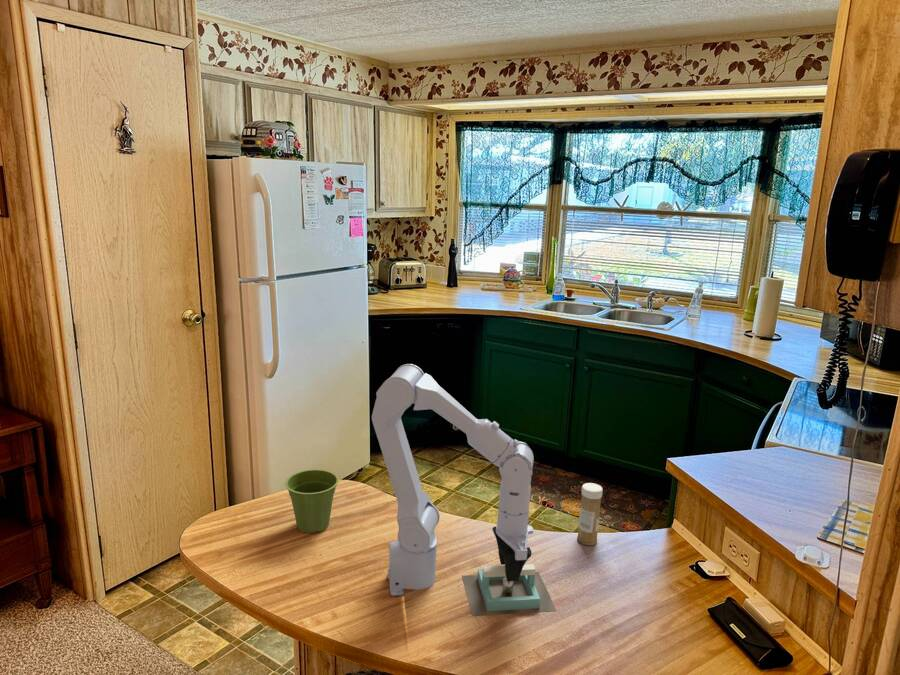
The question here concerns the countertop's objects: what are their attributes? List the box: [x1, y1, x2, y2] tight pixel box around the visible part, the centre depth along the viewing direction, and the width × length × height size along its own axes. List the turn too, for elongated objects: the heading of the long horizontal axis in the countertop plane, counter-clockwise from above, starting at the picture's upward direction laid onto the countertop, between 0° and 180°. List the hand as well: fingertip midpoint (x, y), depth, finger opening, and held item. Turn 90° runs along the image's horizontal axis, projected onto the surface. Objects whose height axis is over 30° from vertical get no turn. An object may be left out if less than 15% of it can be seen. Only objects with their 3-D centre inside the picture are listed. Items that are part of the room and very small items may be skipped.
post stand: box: [461, 571, 557, 617], centre depth 119 cm, size 16×12×4 cm
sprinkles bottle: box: [576, 482, 604, 546], centre depth 139 cm, size 5×5×14 cm
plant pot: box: [284, 468, 340, 534], centre depth 140 cm, size 12×12×11 cm
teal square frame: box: [476, 563, 540, 611], centre depth 119 cm, size 10×10×5 cm
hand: (508, 571), depth 118 cm, fingers open, 5 cm apart
